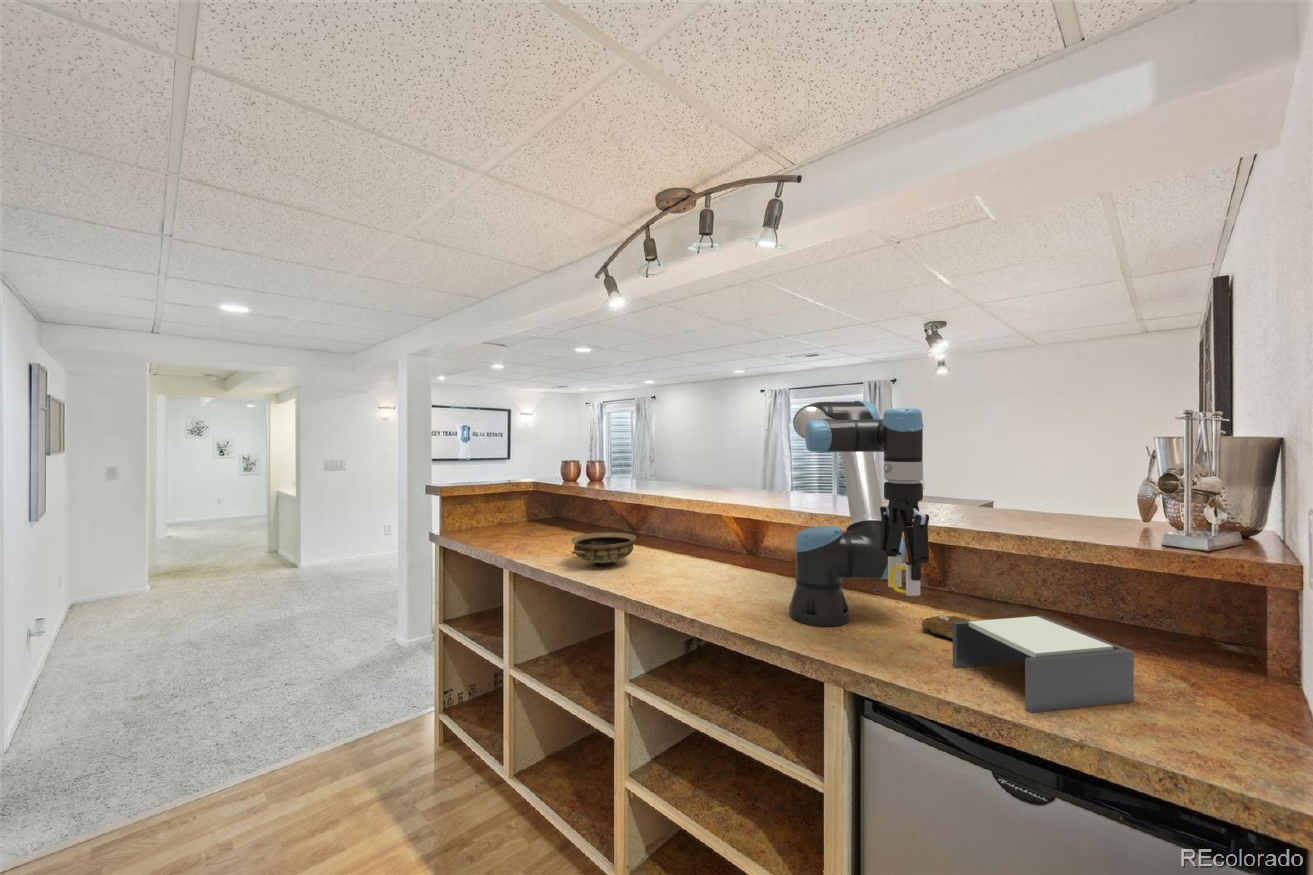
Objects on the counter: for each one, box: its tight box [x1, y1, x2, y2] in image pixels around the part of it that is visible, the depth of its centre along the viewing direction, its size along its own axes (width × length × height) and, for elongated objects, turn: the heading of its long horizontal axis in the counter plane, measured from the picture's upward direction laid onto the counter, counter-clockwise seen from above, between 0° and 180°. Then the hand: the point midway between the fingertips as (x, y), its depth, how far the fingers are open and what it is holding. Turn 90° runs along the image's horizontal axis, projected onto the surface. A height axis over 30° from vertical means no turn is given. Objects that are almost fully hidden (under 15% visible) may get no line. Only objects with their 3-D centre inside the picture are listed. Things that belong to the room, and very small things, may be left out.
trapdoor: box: [969, 615, 1113, 657], centre depth 103 cm, size 16×16×1 cm
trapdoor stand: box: [952, 615, 1135, 714], centre depth 103 cm, size 19×21×9 cm
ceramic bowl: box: [570, 532, 637, 568], centre depth 198 cm, size 30×24×10 cm
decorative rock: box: [921, 615, 973, 640], centre depth 127 cm, size 11×4×15 cm
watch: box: [889, 562, 906, 594], centre depth 113 cm, size 6×3×6 cm, turn 40°
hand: (903, 590), depth 113 cm, fingers closed on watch, 6 cm apart
